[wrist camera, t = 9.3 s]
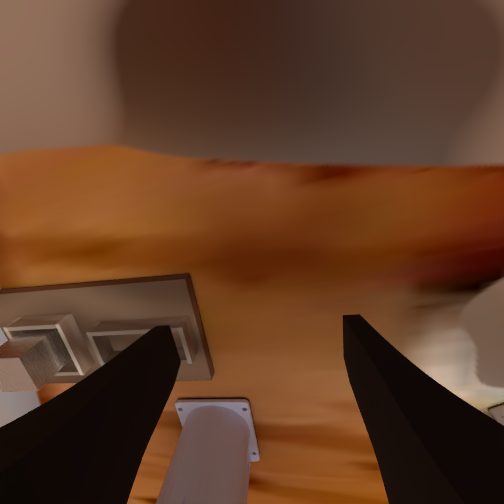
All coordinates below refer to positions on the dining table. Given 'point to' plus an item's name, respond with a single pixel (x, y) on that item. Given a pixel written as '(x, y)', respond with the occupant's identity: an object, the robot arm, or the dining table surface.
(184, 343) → the socket board
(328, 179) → the dining table surface
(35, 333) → the square peg
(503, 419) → the medicine box
